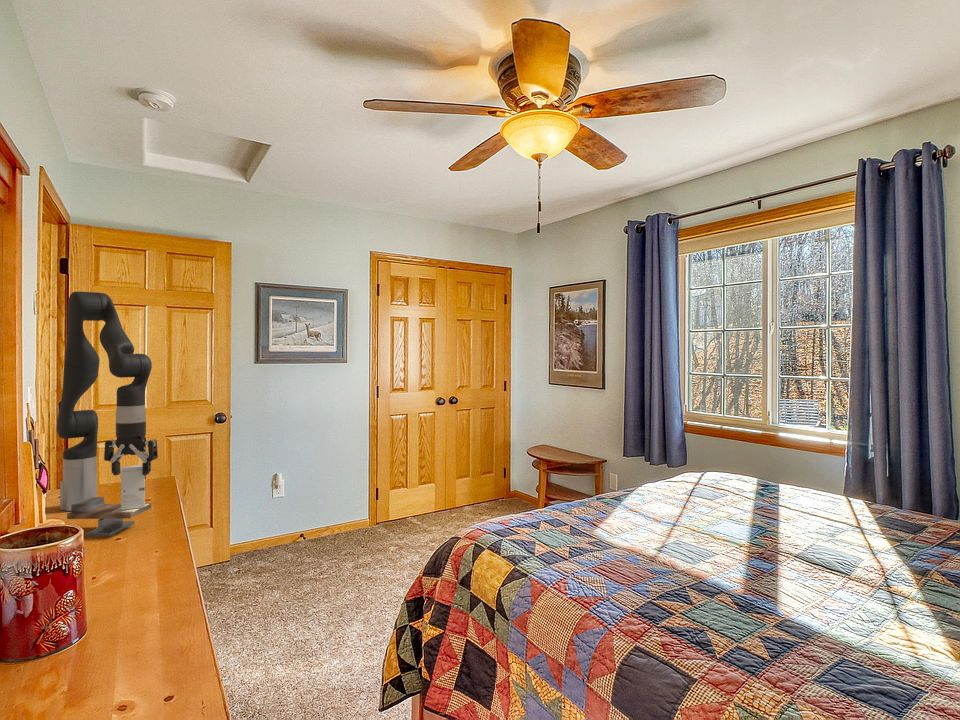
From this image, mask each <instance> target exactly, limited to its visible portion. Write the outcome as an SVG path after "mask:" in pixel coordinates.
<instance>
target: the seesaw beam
mask: <svg viewBox="0 0 960 720" xmlns="http://www.w3.org/2000/svg"><path fill="white" fill-rule="evenodd" d="M151 509H152V503H147V502H146V503H145V506H144V507H142V508H134V509H126V510H121V503H105V496H97V497H90V498H87V499H85V500H82V501H80V502H77V503H74V504H72V505H71V511H70V512H68V513H66V520H94V519H95V520H99V519H120V518H123V519H132V518H135V517H137V516H138V515H141V514H143V513H144V512H147V511H148V510H151Z"/></svg>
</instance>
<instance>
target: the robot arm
mask: <svg viewBox="0 0 960 720" xmlns="http://www.w3.org/2000/svg"><path fill="white" fill-rule="evenodd" d="M68 297H69V298H68V300H67V301H68V303H67V335H66V336H67V338H66V346H65V347H66V348H65V355H64V364H63V377H62V391H61V398H60V403H59V404H60V405H59V409H58V414H57V420H56V432H57V433H56V434H57V437H59V438H61V439H63V440H64V439H67V440H68V439H78V438H83V439H82V440H81V441H80V442H79V443H77V444H75V445H74V446H73V445H72V446H70V447H68V448H66V449H64V450H63V452H62V466H63V467H62V471H63V474H62V477H63V479H62V481H60V482H59V505H60V506H59V508H60V509H59V510H60V511H61V510H62V511H66V512H71V505H72V504H74V503H77V502H80V501H82V500H85V499H87V498H90V497H98V462H97V461H98V452H97V451H98V435H99V434H98V433H99V430H98V429H99V417H98V413H97V412H96V411H95V410H93V409H84V410H83V409H82V410H81V409H80V410H75V408H76V405H77V403H78V401H79V400H80V399H81V397H82V396H83V395H84V394H85V393H86V392H87V391H88V390H89V389H90V388H91V387H92V386H93V384H95V382H96V381H97V379H98V377H99V370H100V361H101V360H100V356H99V353H98V352H97V351H96V349H95V348H94V346H93V345H92V343H91V342H90V341H89V339H88V338H87V336H86V334H85V331H84V321H85V322H86V321H87V322H88V321H92V322H101V321H102V322H104V323H105V324H104V326H103V327H102V328H101V330H100V332H99V342H100V344H101V346H102V348H103V350H104V351H105V353H106V354H107V355H106V356H107V358H108V369H109V372H110V374H111V375H113V376H114V377H116V378H121V379H122V378H133V380H132V382H131V383H129V384H125V385H121V386H118V387H117V389H116V408H115V409H116V410H115V437H116V440H114V439H109V440H105V441H104V455H103V460H104V461H105V462H106V461H108V462H110V463H111V474H113V476H119V475H121V461H120V460H121V459H122V458H123V456H128V455H131V456H137V457H138V458H140V460H141V461H142V463H141V465H142V473H143V475H145V476H147V475H149V474H150V473H151V471H152V470H151V469H152V462H153V461H154V460H157V459H158V457H159V456H158V453H159V452H158V442H157V439H156V438H155V439H151V440H147V439H146V434H147V412H146V406H145V405H146V396H145V395H146V388H147V385H148V381H149V378H150V375H151V372H152V367H153V366H152V365H153V363H152V360H151V358H150V357H149V356H148V355H147V354H145V353H134V352H135V347H134V345H133V342H132V341H131V339H130V338H129V336H128V335H127V333H126V331H124V328H123V326H122V324H121V323H122V322H121V320H120V317H119V314H118V312H117V310H116V307H115V304H114V302H113V299H112V298H111V297H110V295H108V293H104V292H94V291H72V293H70V295H69V296H68ZM115 447H117V450H116V451H115ZM145 447H146V448H148V450H147V449H146V448H145Z"/></svg>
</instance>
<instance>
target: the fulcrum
mask: <svg viewBox="0 0 960 720" xmlns="http://www.w3.org/2000/svg"><path fill="white" fill-rule="evenodd" d="M123 519H124V518H120V519H97V527H96V528H94V529H92V530H89V531H87V532H85V533H84V534H85V537H86V536H87V537H88V538H90V537H92V538H93V537H94V538H95V537H99V538H101V537H102V538H103V537H107V538H108V537H112V536H114V535H117V534H119V533H120V532H121V531H124V530H125V529H128V528H130V527H131V526H134V525H135V520H123Z"/></svg>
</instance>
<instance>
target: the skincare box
mask: <svg viewBox="0 0 960 720" xmlns="http://www.w3.org/2000/svg"><path fill="white" fill-rule="evenodd" d="M120 476H121V477H120V504H121V510H126V509H134V508H142V507H144V506H145V501H146V496H145V495H146V493H145V490H146V487H145V486H146V481H145V479H146V478H145V477H146V475H143V473H142V464H141V465H130V466H121V467H120Z"/></svg>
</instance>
